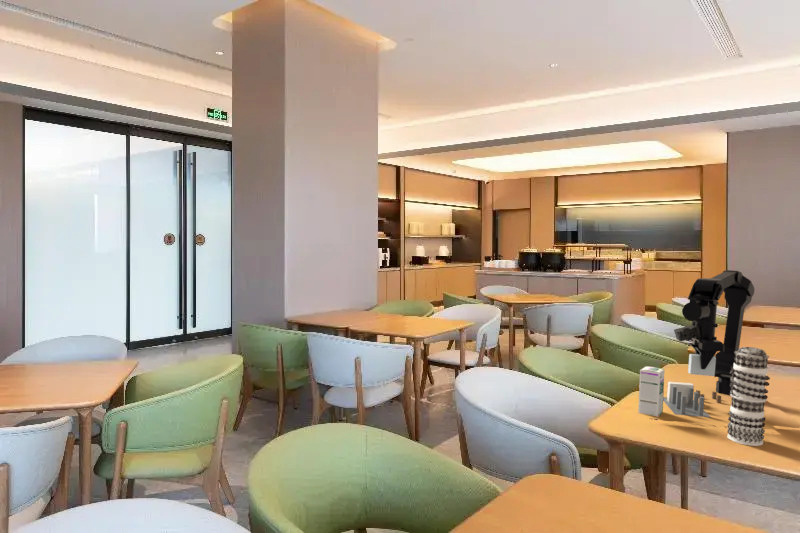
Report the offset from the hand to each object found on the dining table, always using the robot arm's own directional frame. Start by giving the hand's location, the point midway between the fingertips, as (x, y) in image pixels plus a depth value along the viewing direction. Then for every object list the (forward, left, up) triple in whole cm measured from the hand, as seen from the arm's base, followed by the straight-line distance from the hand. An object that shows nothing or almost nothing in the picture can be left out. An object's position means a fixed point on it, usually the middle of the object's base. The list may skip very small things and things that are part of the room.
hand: (701, 368), depth 179 cm
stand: (-5, -7, -13) cm, 16 cm away
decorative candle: (-4, +26, -13) cm, 29 cm away
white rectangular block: (+5, -2, -12) cm, 13 cm away
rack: (+5, +3, -13) cm, 14 cm away
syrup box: (+17, +12, -13) cm, 25 cm away
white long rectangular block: (0, 0, -2) cm, 2 cm away
